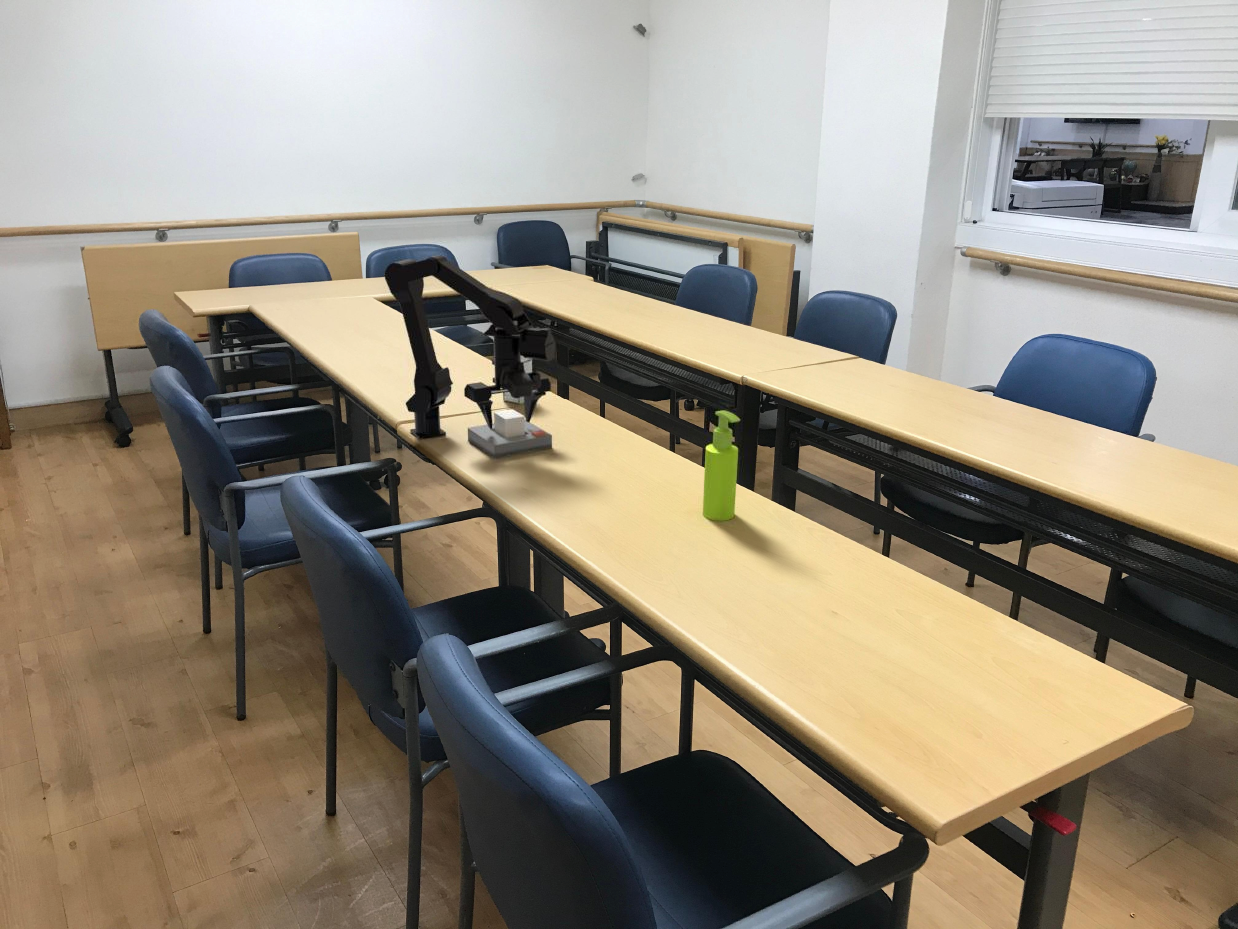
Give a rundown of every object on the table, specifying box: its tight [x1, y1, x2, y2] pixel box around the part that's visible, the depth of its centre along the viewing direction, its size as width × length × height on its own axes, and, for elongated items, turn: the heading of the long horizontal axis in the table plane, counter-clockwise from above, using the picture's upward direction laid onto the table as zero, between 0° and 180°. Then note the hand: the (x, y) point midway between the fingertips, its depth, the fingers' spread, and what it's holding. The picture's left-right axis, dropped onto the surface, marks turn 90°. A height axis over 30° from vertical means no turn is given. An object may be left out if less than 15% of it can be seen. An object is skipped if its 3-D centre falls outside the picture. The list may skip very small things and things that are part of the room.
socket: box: [467, 419, 553, 459], centre depth 213 cm, size 14×14×4 cm
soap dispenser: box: [702, 410, 741, 521], centre depth 174 cm, size 6×7×20 cm
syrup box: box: [502, 356, 533, 405], centre depth 243 cm, size 6×6×14 cm
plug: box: [493, 408, 526, 438], centre depth 212 cm, size 6×5×6 cm
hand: (509, 425), depth 212 cm, fingers open, 9 cm apart
